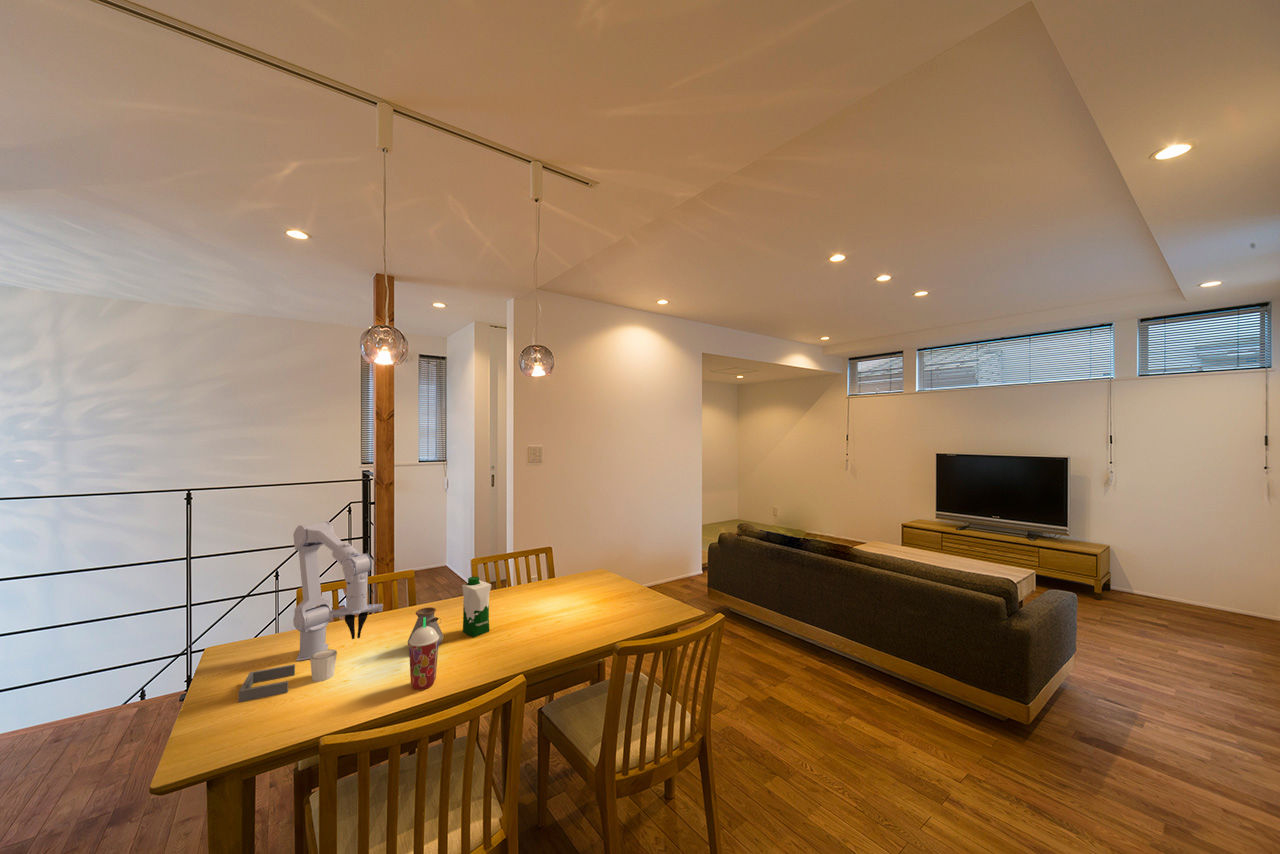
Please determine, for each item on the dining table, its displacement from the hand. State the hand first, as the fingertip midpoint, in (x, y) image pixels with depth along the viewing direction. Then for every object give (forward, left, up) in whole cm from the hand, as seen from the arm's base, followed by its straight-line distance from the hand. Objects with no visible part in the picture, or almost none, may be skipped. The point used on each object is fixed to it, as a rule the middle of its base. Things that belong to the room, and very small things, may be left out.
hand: (356, 637), depth 149 cm
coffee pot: (-3, +21, -11) cm, 24 cm away
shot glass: (0, -9, -11) cm, 14 cm away
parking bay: (0, -22, -10) cm, 24 cm away
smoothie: (+19, +18, -11) cm, 29 cm away
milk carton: (-13, +38, -11) cm, 42 cm away
